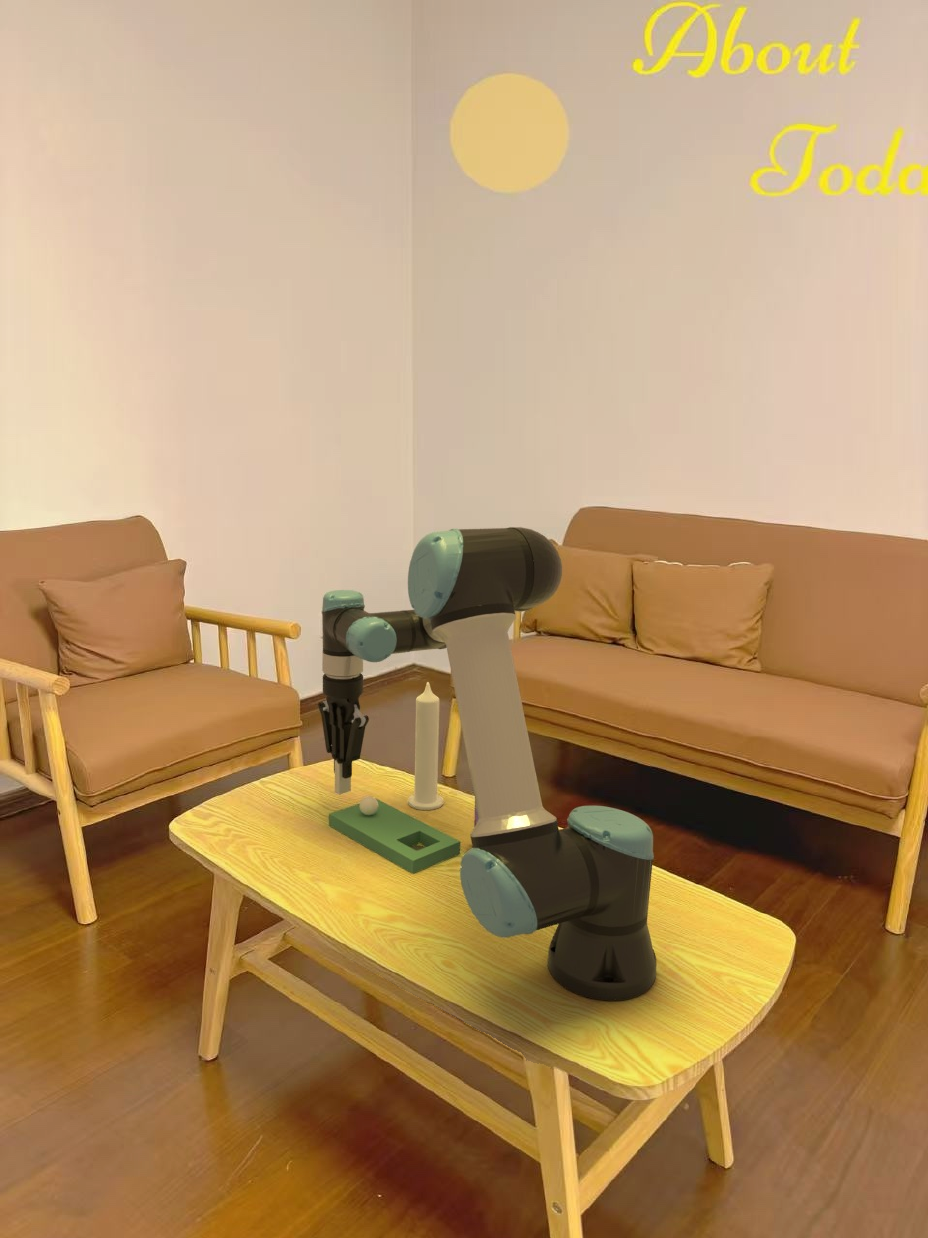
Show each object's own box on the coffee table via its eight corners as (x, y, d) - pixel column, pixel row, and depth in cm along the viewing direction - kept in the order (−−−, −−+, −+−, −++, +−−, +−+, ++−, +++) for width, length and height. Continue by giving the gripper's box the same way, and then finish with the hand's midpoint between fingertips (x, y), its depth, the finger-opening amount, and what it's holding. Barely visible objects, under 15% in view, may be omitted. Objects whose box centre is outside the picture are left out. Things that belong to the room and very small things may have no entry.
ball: (382, 814, 173) (382, 797, 172) (367, 820, 171) (367, 802, 170) (370, 808, 175) (370, 791, 175) (355, 814, 173) (355, 796, 172)
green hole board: (460, 853, 164) (460, 841, 164) (412, 873, 157) (413, 860, 156) (375, 809, 181) (375, 798, 180) (328, 825, 173) (328, 813, 173)
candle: (403, 797, 187) (405, 678, 181) (437, 794, 189) (440, 675, 183) (412, 812, 180) (414, 688, 175) (447, 808, 182) (450, 686, 177)
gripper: (380, 678, 171) (379, 797, 176) (338, 662, 180) (338, 776, 185) (347, 685, 166) (347, 808, 171) (306, 669, 175) (306, 786, 180)
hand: (342, 791), depth 178 cm, fingers closed
